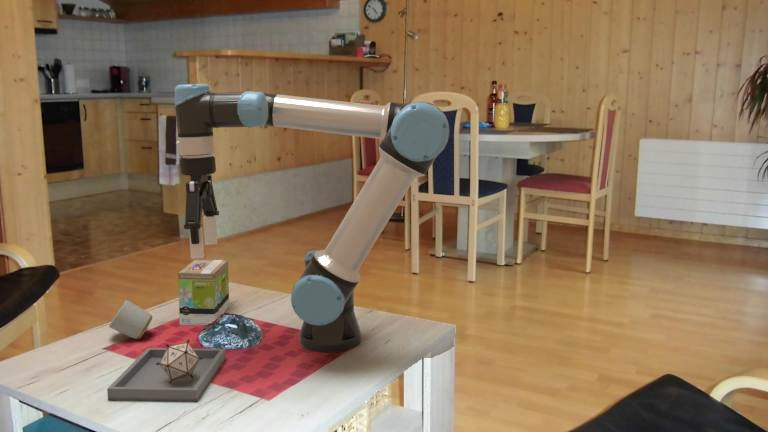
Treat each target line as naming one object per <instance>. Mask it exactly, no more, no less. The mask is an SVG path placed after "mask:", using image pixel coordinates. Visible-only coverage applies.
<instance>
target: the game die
mask: <svg viewBox="0 0 768 432" xmlns="http://www.w3.org/2000/svg"><path fill="white" fill-rule="evenodd" d="M166 347H167V349H166V351H165V353H164V355H163V357H162V359H161V361H160V363H156V365H159V364H160V365H161V367H162V368H163V369H164V371H165V372H166V374H167V375H168V376H169V378H170V379H171V380H170V382H169V383H172V380H175V379H179V378H183V377H187V376H191V378H193V375H192V373H193V371H194V369H195V367H196V365H197V363H198V361H199V360H202V359H203V358H202V357H200V358H199V357H198V355H197V354H196V353H195V351H194V350H193V349H194V348H192V346H191V345H190V338H188V339H187V340H186V342H183V343H178V344H173V345H172V344H171V345H169V344H168V343H165V348H166Z"/></svg>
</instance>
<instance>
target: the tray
mask: <svg viewBox="0 0 768 432" xmlns="http://www.w3.org/2000/svg"><path fill="white" fill-rule="evenodd" d="M166 349H167V348H166V347H147V348H146V349H145V350H144V351H143V352H142V353H141V354H140V355H139V356H138V357H137V358H136V359H135V360H134V361H133V362H132V363H131V364H130V365H129V366H128V367H127V368H126V369H125V370H124V371H123V372H122V373H121V374H120V375H119V376H118V377H117V378H116V379H115V381H114V382H112V384H110V385H109V386H108V387H107V389H106V391H107V401H108V402H109V401H110V402H112V401H113V402H115V401H119V402H125V401H126V402H127V401H128V402H169V403H170V402H176V403H177V402H178V403H181V402H182V403H183V402H184V403H198V401H199V400H200V398H201V397H202V395H203V393H204V392H205V391H206V389H207V388H208V387H209V385H210V383H211V381H213V379H214V378H215V375H216V374H217V373H218V371H219V370H220V369H221V367H222V365H223V364H222V363H224V362H225V361H226V359H225V358H226V348H192V349H193V350H194V351H195V353H196V354H197V355H198V357H199V358H200V357H202V358H203V359H202V360H199V361H198V363H197V365H196V367H195V369H194V371H193V373H192V375H193V378H191V376H187V377H183V378H179V379H175V380H172V383H169V382H170V380H171V379H170V378H169V376H168V375H167V374H166V372H165V371H164V369H163V368H162V367H161V365H160V364H159V365H156V363H160V361H161V359H162V357H163V355H164V353H165V351H166ZM224 360H225V361H224ZM223 361H224V362H223ZM221 364H222V365H221ZM220 366H221V367H220Z"/></svg>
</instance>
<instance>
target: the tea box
mask: <svg viewBox="0 0 768 432" xmlns="http://www.w3.org/2000/svg"><path fill="white" fill-rule="evenodd" d="M177 275H178V280H177V281H178V282H177V283H178V307H179V308H178V310H179V312H178V314H179V325H180V326H209V325H208V324H210V323H212V322H213V321H215V320H216V319H217V318H218V317H220V316H221V315H222V314H223V315H224V314H225V313H226V312H227V310H228V309H229V307H230V293H229V292H230V290H229V289H230V288H229V287H230V285H229V284H230V283H229V282H230V281H229V260H228V259H226V260H225V259H193V260H192V261H191V262H189V264H187V265H186V266H185V267H184V268H182V269H181V270H180V271H178V274H177Z"/></svg>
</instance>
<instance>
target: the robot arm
mask: <svg viewBox="0 0 768 432" xmlns="http://www.w3.org/2000/svg"><path fill="white" fill-rule="evenodd" d="M173 106H174V107H173V108H174V112H175V120H176V129H177V130H176V131H177V140H176V142H175V145H176V146H178V154H179V155H180V159H179V168H180V174H181V175H182V176H189V177H190V180H189V181H186V182H185V188H186V189H185V192H186V193H185V194H186V195H185V218H184V219H185V220H184V222H185V223H184V225H183V229H184V230H188V238H189V239H188V240H189V250H190V259H193V260H197V259H204V258H205V246H204V244H205V245H218V232H217V231H218V230H217V217H216V216H219V215H220V211H219V210H218V206H217V202H216V201H217V200H216V196H215V192H214V187H213V186H214V185H213V181H212V180H213V179H212V177H213V176H212V174H215V173H216V171H217V167H216V166H217V165H216V157H215V156H214V154H215V152H216V151H215V150H216V148H215V137H214V128H215V129H219V128H221V129H222V128H248V129H251V128H256V127H258V128H259V127H264V126H266V127H267V126H268V127H277V128H286V129H293V130H301V131H302V130H304V131H310V132H321V133H329V134H335V135H344V136H351V137H353V136H354V137H362V138H368V139H369V138H370V139H379V140H381V143H379V146H378V151H379V155H380V156H379V160H378V161H377V163H376V164H375V166H374V168H373V169H372V171H371V173H370V174H369V176H368V178H367V179H366V181H365V183H364V184H363V186H362V187H361V188H360V191H359V192H358V194H357V195H356V198H355V199H354V200H353V202H352V204H351V206H350V207H349V209H348V211H347V212H346V214H345V216H344V218H343V219H342V221H341V222H340V224H339V226H338V227H337V229H336V230H335V232H334V234H333V236H332V238H331V239H330V241H329V242H328V244H327V245H326V248H324V249H317V250H315V249H314V250H310V251H307V252H306V254H305V257H304V264H305V265H304V266H305V269H304V271H303V272H302V274H301V275H300V277H299V278H298V280H297V281H296V282H295V283H294V285H293V286H292V289H291V296H290V303H291V307H292V309H293V312H294V313H295V314H296V316H298V319H299V318H300V320H302V321H303V322H302V325H301V329H300V331H299V344H300V346H301V347H303V348H304V349H306V350H309V351H312V352H316V353H328V354H329V353H330V354H331V353H340V352H345V351H348V350H351V349H354V348H356V347H358V346H359V345H360V343H362V331H361V328H360V326H359V322H358V320H357V317H356V314H355V308H354V306H355V305H354V304H355V301H354V300H355V299H354V298H355V296H354V295H355V294H354V293H355V291H354V290H355V289H356V287H357V285H358V283H359V282H361V281H360V280H361V275H360V272H359V269H360V268H361V267H362V264H363V263H364V261H365V260H366V258H367V256H368V255H369V253H370V251H371V249H372V248H373V247H374V245H375V243H376V242H377V240H378V238H379V237H380V236H381V234H382V232H383V231H384V229H385V227H386V226H387V224H388V222H389V221H390V219H391V218H392V216H393V214H394V213H395V211H396V209H397V208H398V206H399V204H400V203H401V202H402V200H403V198H404V196H405V195H406V193H407V192H408V190H409V189H410V187H411V185H412V183H413V182H414V181H415V179H417V178H421V177H424V176H426V175H427V173H428V172H429V169H430V168H431V167H432V165H433V164H434V162H435V160H436V158H437V157H438V156H439V155H440V153H442V151H444V149H445V148H446V147H447V146H446V145H447V144H448V141H449V138H450V125H449V121H448V119H447V116H446V114H445V113H444V112H443V111H442V110H441V108H439V107H438V106H437V105H436V104H434V103H431V102H427V101H416V102H392V101H391V102H390V101H389V102H388V103H386V104H385V105H380V104H379V105H378V104H369V103H361V102H351V101H341V100H333V99H324V98H315V97H305V96H296V95H289V94H287V95H286V94H277V93H268V92H264V91H261V90H260V91H259V90H248V91H247V90H246V91H231V92H230V91H229V92H212V90H211V87H210V85H209V84H208V83H187V84H186V83H185V84H178V85H176V86H175V88H174V105H173ZM181 156H182V157H181ZM202 214H203V215H204V216H203V215H202ZM202 216H203V217H202ZM202 219H203V227H202V226H201V225H202ZM203 232H204V233H203ZM203 234H204V235H203ZM203 237H204V238H203ZM204 242H205V243H204Z"/></svg>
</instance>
